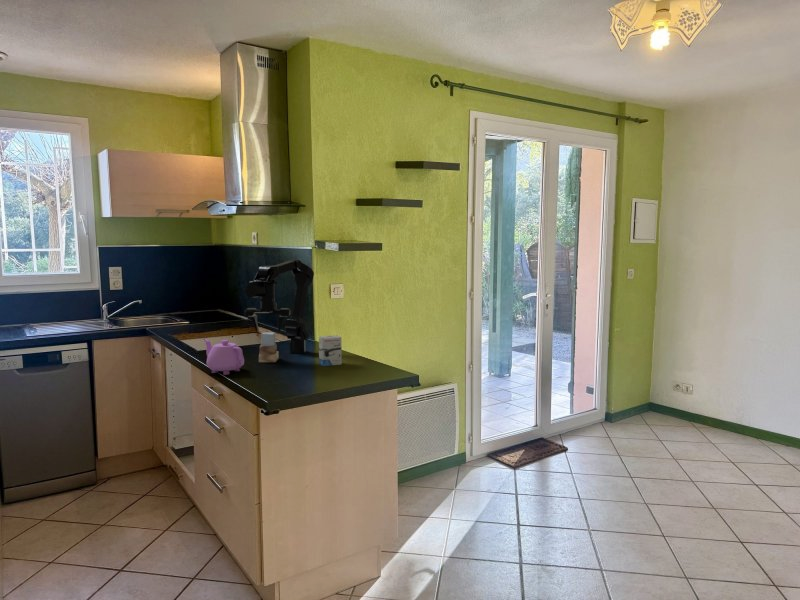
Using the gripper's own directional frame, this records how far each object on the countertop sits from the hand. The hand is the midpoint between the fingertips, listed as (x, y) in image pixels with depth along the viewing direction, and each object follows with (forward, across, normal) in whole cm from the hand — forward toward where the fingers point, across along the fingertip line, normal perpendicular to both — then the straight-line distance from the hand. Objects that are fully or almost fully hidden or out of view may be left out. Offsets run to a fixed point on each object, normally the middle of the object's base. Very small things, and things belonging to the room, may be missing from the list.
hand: (268, 332), depth 239 cm
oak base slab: (+13, 0, 0) cm, 13 cm away
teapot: (+13, +14, +19) cm, 27 cm away
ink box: (+13, -27, +8) cm, 31 cm away
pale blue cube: (+6, 0, 0) cm, 6 cm away
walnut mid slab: (+9, 0, 0) cm, 9 cm away
